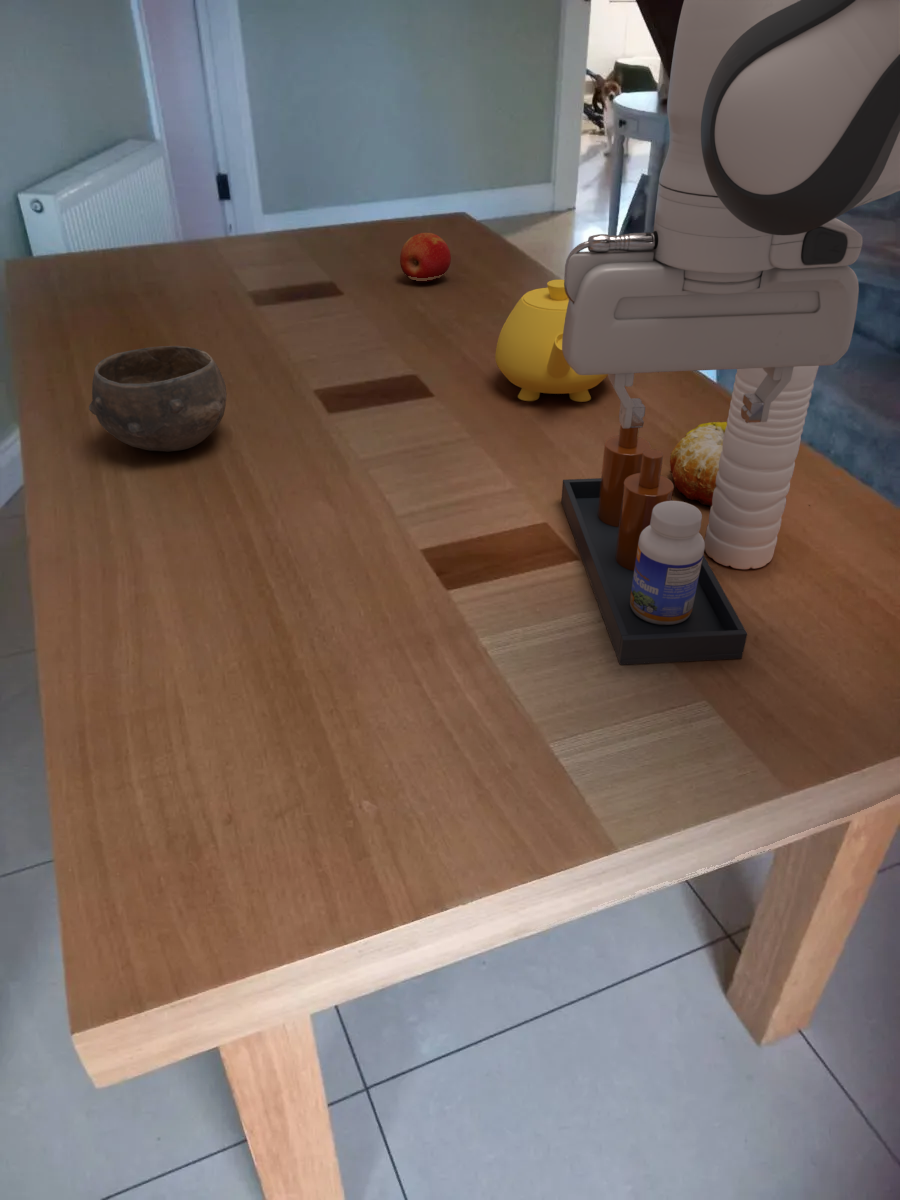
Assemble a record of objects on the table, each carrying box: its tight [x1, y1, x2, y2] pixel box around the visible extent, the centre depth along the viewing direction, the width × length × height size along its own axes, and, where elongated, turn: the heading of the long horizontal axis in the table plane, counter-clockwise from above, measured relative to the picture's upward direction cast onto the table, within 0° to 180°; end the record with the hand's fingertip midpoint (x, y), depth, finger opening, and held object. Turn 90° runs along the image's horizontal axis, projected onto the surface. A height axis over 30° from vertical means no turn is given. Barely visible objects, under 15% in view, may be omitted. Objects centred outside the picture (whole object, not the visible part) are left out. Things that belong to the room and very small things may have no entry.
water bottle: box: [704, 366, 820, 570], centre depth 82 cm, size 9×6×25 cm
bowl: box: [88, 345, 227, 452], centre depth 105 cm, size 14×15×10 cm
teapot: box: [494, 279, 608, 403], centre depth 116 cm, size 20×16×14 cm
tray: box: [560, 477, 748, 666], centre depth 85 cm, size 27×10×3 cm, turn 4°
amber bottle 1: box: [597, 424, 652, 527], centre depth 90 cm, size 4×4×11 cm
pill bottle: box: [630, 500, 705, 625], centre depth 77 cm, size 5×5×10 cm
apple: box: [399, 232, 452, 284], centre depth 158 cm, size 8×8×8 cm
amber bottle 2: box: [615, 448, 675, 571], centre depth 83 cm, size 4×4×11 cm
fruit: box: [669, 421, 727, 507], centre depth 97 cm, size 11×10×8 cm
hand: (692, 422), depth 69 cm, fingers open, 8 cm apart
